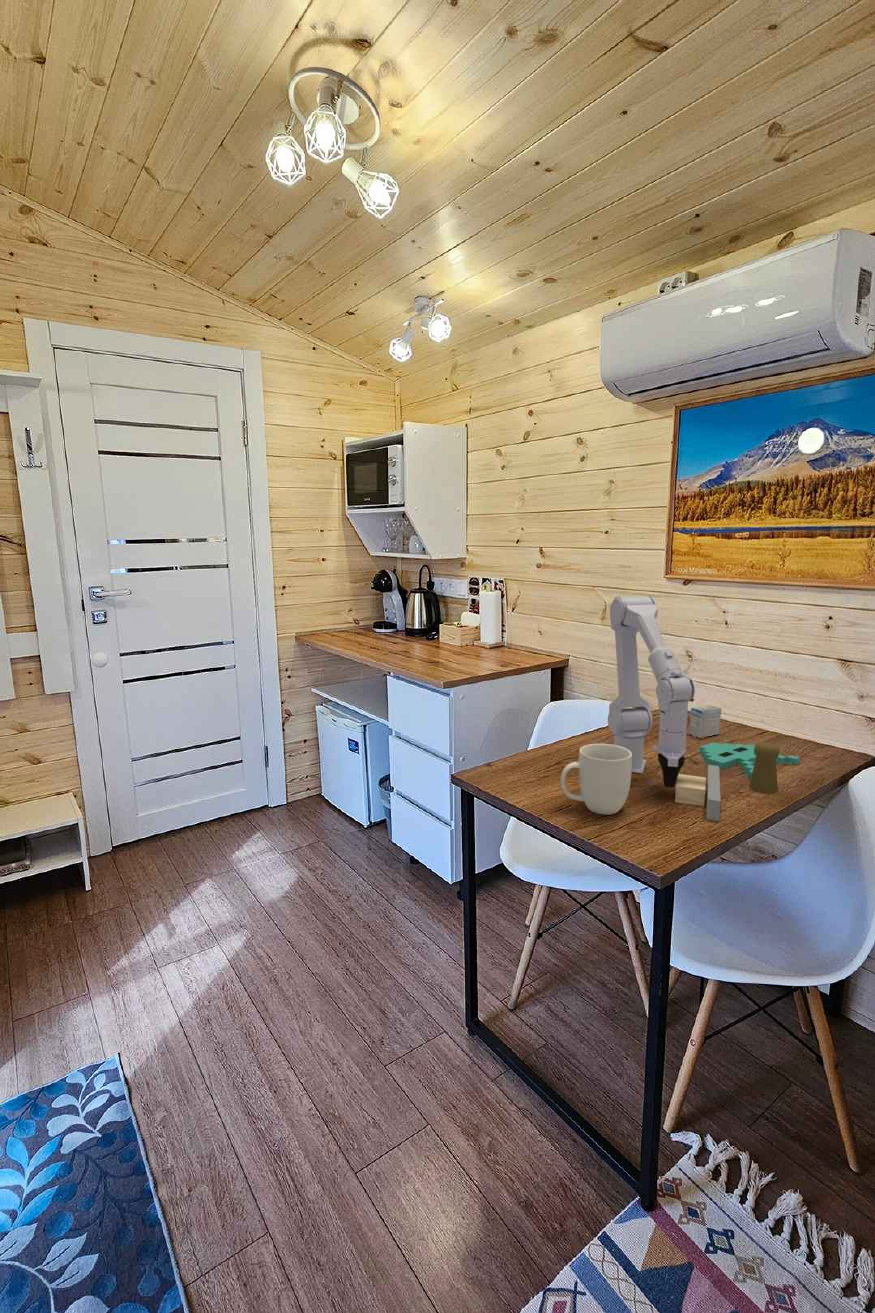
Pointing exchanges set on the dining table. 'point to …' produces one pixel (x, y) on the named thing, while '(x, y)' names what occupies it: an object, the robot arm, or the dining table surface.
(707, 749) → the alien figure
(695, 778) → the maple block
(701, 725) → the medicine box
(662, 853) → the dining table surface
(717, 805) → the board
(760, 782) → the cork
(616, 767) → the mug
